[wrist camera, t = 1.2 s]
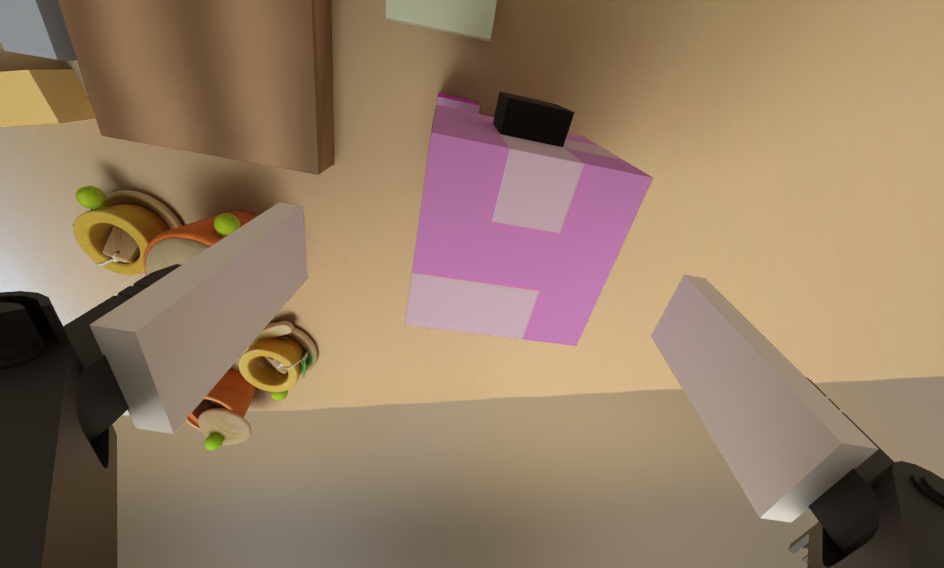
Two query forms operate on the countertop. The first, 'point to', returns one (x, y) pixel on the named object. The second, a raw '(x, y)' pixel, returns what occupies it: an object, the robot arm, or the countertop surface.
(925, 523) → the robot arm
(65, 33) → the brick slate
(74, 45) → the pedestal
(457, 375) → the countertop surface
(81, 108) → the brick ochre
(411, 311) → the toy
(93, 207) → the toy tea set
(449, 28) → the brick sage
